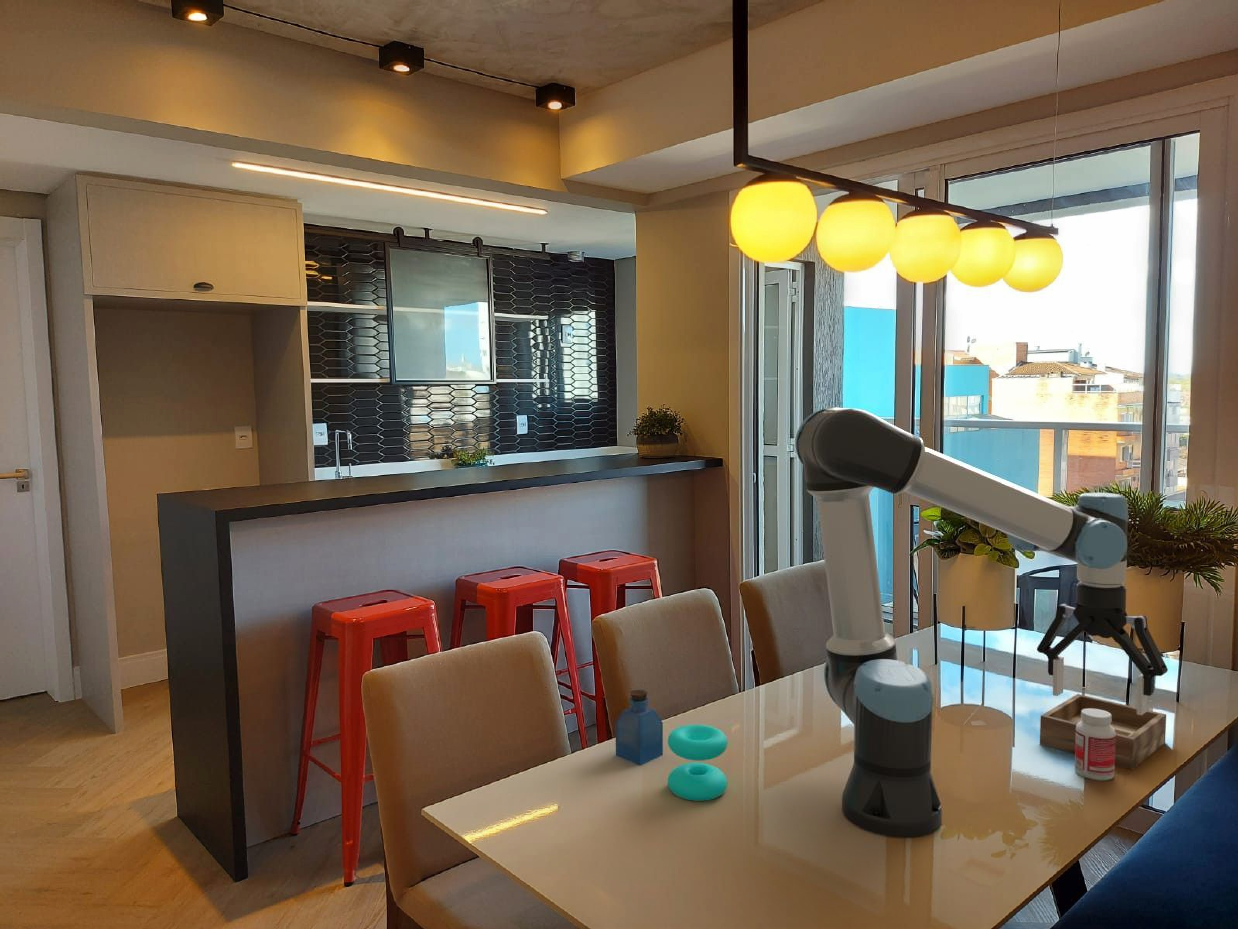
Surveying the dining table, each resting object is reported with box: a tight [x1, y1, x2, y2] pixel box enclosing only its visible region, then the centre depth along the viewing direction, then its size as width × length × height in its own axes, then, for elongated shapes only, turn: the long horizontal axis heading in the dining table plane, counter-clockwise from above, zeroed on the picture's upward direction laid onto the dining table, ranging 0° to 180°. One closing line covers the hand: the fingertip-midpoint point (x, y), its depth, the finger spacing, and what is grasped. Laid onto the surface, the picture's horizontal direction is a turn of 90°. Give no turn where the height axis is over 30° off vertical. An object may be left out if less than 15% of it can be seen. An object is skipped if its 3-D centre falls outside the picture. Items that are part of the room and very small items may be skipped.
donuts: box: [667, 724, 728, 802], centre depth 149 cm, size 10×10×10 cm
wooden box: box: [1039, 693, 1167, 770], centre depth 168 cm, size 18×16×6 cm
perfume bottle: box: [615, 689, 664, 766], centre depth 164 cm, size 6×6×12 cm
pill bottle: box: [1074, 708, 1116, 781], centre depth 154 cm, size 6×6×11 cm
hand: (1098, 703), depth 154 cm, fingers open, 13 cm apart
